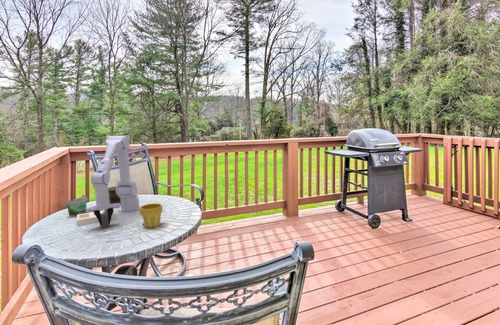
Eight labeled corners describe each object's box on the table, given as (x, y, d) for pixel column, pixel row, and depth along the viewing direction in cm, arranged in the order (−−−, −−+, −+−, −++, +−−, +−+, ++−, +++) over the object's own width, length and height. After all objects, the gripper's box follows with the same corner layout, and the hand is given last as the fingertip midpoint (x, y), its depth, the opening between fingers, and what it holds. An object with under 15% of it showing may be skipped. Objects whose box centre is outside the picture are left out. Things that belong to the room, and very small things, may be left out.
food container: (77, 219, 152) (75, 201, 150) (67, 219, 153) (65, 201, 152) (94, 212, 164) (92, 195, 162) (84, 211, 165) (83, 194, 164)
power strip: (113, 215, 157) (113, 207, 156) (116, 221, 149) (115, 212, 148) (77, 222, 148) (76, 213, 148) (78, 228, 140) (77, 218, 139)
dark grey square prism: (108, 226, 142) (106, 212, 141) (109, 229, 138) (108, 215, 137) (101, 227, 140) (100, 213, 139) (102, 230, 136) (100, 216, 135)
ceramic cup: (119, 200, 187) (117, 185, 186) (128, 203, 181) (126, 187, 180) (99, 205, 177) (97, 189, 175) (107, 208, 171) (106, 192, 169)
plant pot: (144, 222, 147) (143, 203, 145) (165, 221, 147) (164, 202, 146) (138, 229, 136) (136, 209, 135) (160, 228, 137) (159, 208, 136)
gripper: (85, 201, 129) (88, 230, 131) (120, 196, 137) (122, 223, 139) (84, 198, 135) (87, 225, 137) (117, 193, 143) (120, 219, 145)
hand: (105, 224), depth 139 cm, fingers closed on dark grey square prism, 3 cm apart
